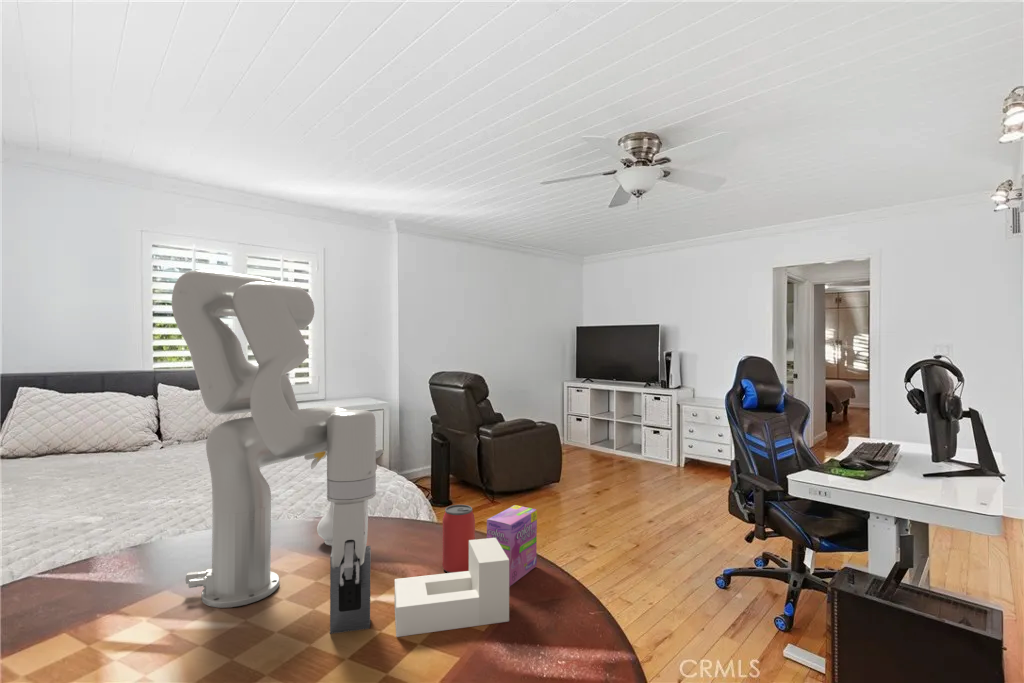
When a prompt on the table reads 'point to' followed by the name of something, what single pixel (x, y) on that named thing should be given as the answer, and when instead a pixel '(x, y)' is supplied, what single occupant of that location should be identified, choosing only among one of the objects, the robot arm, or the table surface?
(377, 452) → the flower vase
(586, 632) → the table surface
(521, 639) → the table surface
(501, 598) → the post block
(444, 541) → the beer can
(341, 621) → the gray rectangular block
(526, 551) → the box
